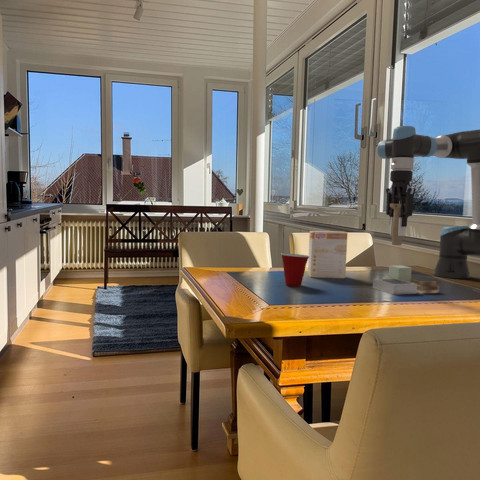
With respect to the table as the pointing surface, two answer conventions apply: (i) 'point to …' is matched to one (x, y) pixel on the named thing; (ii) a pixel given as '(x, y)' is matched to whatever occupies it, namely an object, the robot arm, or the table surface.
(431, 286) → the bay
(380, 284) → the winch housing
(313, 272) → the coffeecake box
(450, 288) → the table surface
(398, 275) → the pale green cube
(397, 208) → the handle
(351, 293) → the table surface
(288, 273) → the plastic cup
